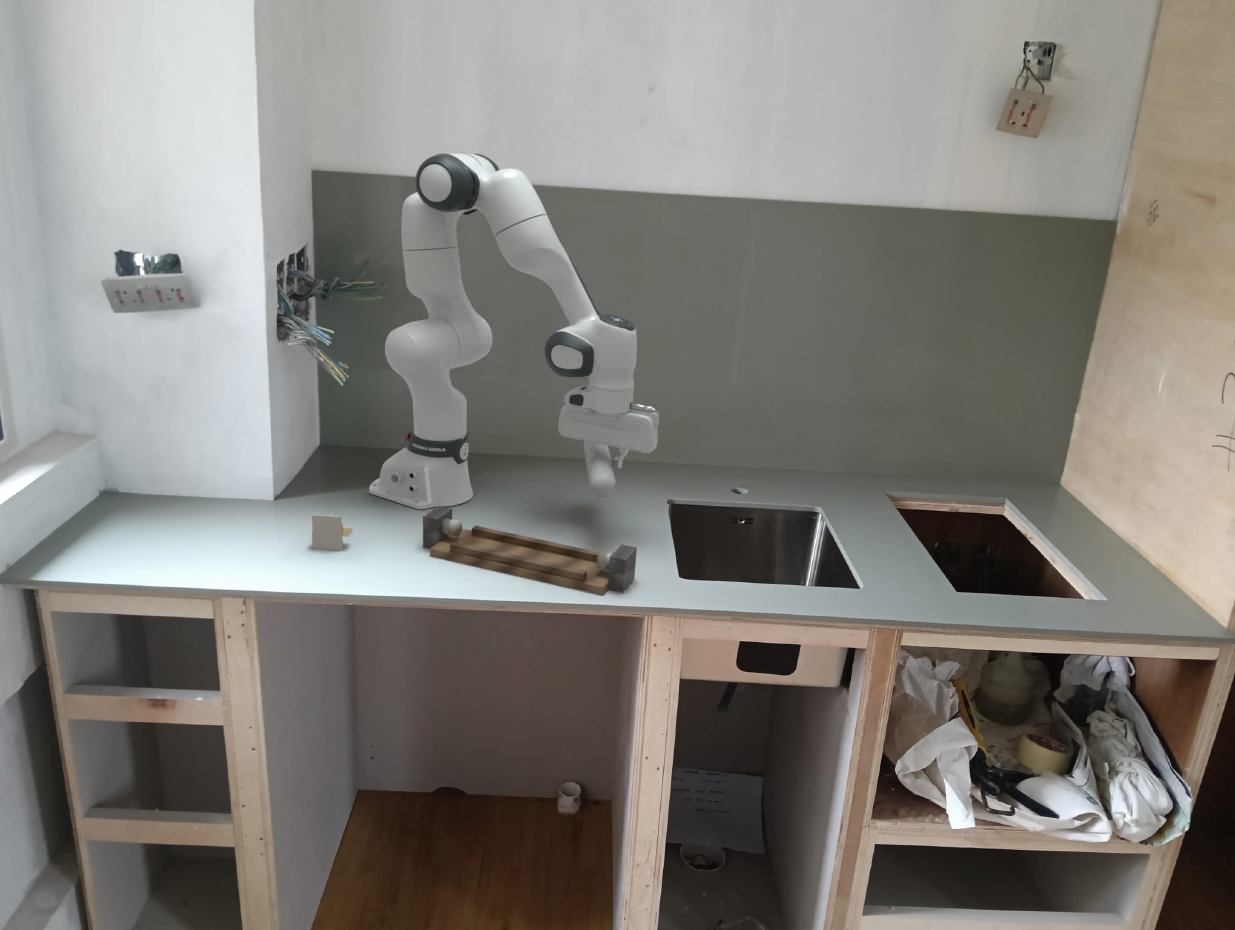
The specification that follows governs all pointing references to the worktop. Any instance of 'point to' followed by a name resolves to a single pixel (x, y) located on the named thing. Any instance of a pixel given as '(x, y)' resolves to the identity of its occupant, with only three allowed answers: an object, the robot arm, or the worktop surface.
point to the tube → (600, 471)
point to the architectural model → (328, 532)
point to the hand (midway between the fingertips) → (605, 464)
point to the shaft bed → (528, 555)
